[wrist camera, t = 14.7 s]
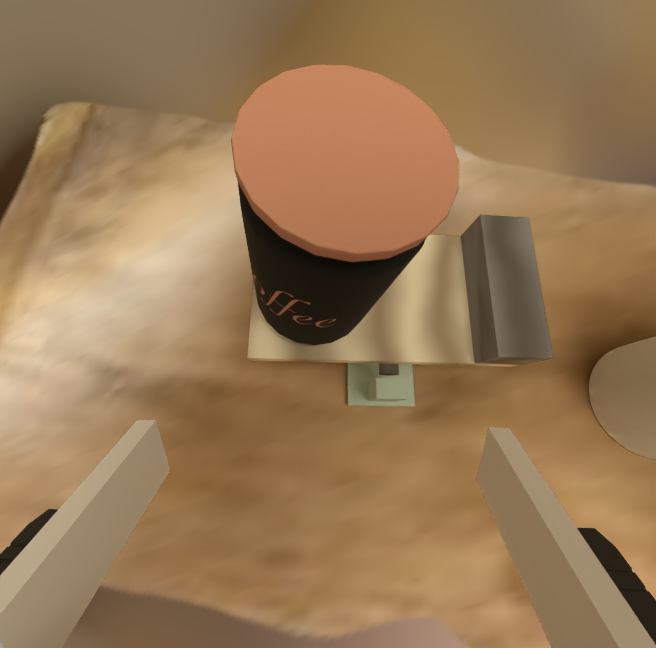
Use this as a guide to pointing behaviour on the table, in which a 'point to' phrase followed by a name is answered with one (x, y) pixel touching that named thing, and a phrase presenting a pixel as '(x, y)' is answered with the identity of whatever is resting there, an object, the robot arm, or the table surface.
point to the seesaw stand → (379, 386)
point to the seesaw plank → (441, 308)
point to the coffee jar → (336, 193)
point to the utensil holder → (627, 395)
